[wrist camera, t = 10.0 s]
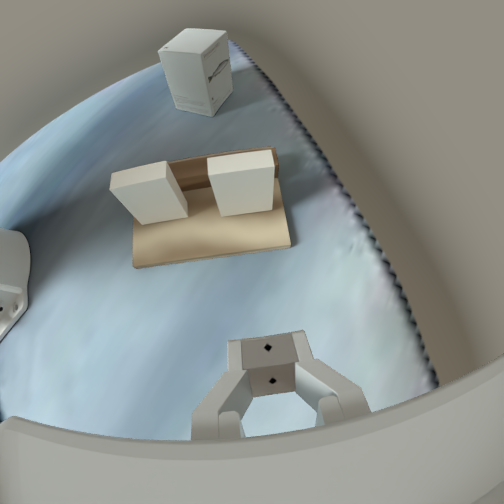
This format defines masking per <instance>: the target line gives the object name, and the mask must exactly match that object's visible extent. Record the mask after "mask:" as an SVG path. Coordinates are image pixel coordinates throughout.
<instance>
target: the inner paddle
mask: <svg viewBox="0 0 504 504" xmlns="http://www.w3.org/2000/svg"><path fill="white" fill-rule="evenodd" d="M110 191H111V192H112V193H113V194H114V195H115V196H116V197H117V199H118V200H119V201H120V202H121V203H122V204H123V205H124V206H125V207H126V208H127V209H128V211H129V212H130V213H131V214H132V215H133V216H134V217H135V218H136V219H137V220H138V221H139V222H140V223H141V224H142V225H145V224H150V223H156V222H162V221H168V220H174V219H180V218H186V217H188V206H187V201H186V199H185V197H184V195H183V193H182V191H181V189H180V187H179V185H178V183H177V181H176V179H175V177H174V175H173V173H172V171H171V169H170V167H169V165H168V163H167V161H161V162H156V163H152V164H147V165H143V166H138V167H134V168H130V169H126V170H122V171H118V172H114V173H112V174H111V182H110Z"/></svg>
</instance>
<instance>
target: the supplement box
mask: <svg viewBox="0 0 504 504" xmlns="http://www.w3.org/2000/svg"><path fill="white" fill-rule="evenodd" d="M158 54H159V57H160V60H161V63H162V66H163V70H164V73H165V76H166V79H167V82H168V85H169V88H170V91H171V94H172V97H173V101H174V104H175V107H176V109H179V110H183V111H188V112H192V113H196V114H201V115H205V116H209V117H213V116H214V115H215V113H216V112H217V110H218V109H219V108H220V106H221V105H222V104H223V102H224V101H225V100H226V99H227V97H228V96H229V95H230V94H231V93H232V92H233V84H232V74H231V65H230V56H229V48H228V39H227V31H221V30H210V29H190V28H186V29H185V30H183V31H182V32H181V33H180V34H178V35H177V36H176V37H174V38H173V39H172V40H171V41H170V42H168V43H167V44H166V45H165V46H164V47H162V48H161V49H160V50H159V51H158Z"/></svg>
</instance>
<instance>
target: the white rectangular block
mask: <svg viewBox="0 0 504 504" xmlns="http://www.w3.org/2000/svg"><path fill="white" fill-rule="evenodd" d="M207 164H208V176H209V180H210V183H211V186H212V189H213V192H214V195H215V199H216V202H217V205H218V208H219V211H220V214H221V217H225V216H232V215H239V214H246V213H254V212H261V211H269V210H272V204H273V187H274V170H275V166H274V161H273V156H272V152H271V150H262V151H254V152H246V153H238V154H231V155H224V156H217V157H211V158H207Z"/></svg>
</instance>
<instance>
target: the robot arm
mask: <svg viewBox="0 0 504 504" xmlns="http://www.w3.org/2000/svg"><path fill="white" fill-rule="evenodd" d="M29 272H30V249H29V245H28V242H27V239H26V238H25V236H24V235H23V234H22V233H21V232H19V231H13V230H7V229H3V228H0V341H1V340H2V338H3V337H4V336H5V335H6V333H7V332H8V331H9V330H10V328H11V327H12V326H13V325H14V324H15V322H16V321H17V320H18V319H19V318H20V317H21V315H22V314H23V313H24V312H25V311H26V309H27V306H28V296H27V283H28V278H29ZM227 349H228V372H224V373H223V375H222V376H221V377H220V378H219V380H218V381H217V382H216V384H215V385H214V386H213V387H212V389H211V390H210V391H209V393H208V394H207V395H206V396H205V398H204V399H203V400H202V401H201V403H200V404H199V405H198V406H197V408H196V409H195V410H194V411H193V413H192V429H191V440H190V441H177V440H148V439H133V438H122V437H113V436H105V435H98V434H91V433H85V432H79V431H74V430H69V429H64V428H59V427H55V426H50V425H46V424H42V423H38V422H35V421H31V420H28V419H24V418H21V417H17V416H12V417H9V418H8V419H6V420H5V421H3V422H2V423H1V424H0V504H504V354H502V355H501V356H499V357H497V358H496V359H494V360H492V361H491V362H489V363H487V364H485V365H483V366H482V367H480V368H478V369H476V370H474V371H472V372H470V373H468V374H466V375H464V376H462V377H460V378H458V379H456V380H454V381H452V382H450V383H448V384H446V385H444V386H441V387H439V388H437V389H434V390H432V391H430V392H427V393H425V394H422V395H420V396H417V397H415V398H412V399H409V400H407V401H404V402H401V403H399V404H396V405H393V406H390V407H387V408H384V409H381V410H378V411H375V412H371V411H370V408H369V406H368V403H367V401H366V398H365V396H364V394H363V391H362V389H361V387H359V386H358V385H356V384H355V383H353V382H352V381H350V380H349V379H347V378H346V377H344V376H343V375H341V374H340V373H338V372H337V371H335V370H334V369H332V368H331V367H329V366H328V365H326V364H325V363H323V362H322V361H320V360H319V359H314V358H313V355H312V352H311V349H310V346H309V343H308V340H307V337H306V334H305V331H304V330H300V331H294V332H291V333H290V332H289V333H283V334H277V335H270V336H264V337H256V338H246V339H239V340H228V343H227ZM293 391H295V392H296V393H297V394H298V395H299V396H300V397H301V398H302V399H303V400H304V401H305V402H306V403H307V404H309V405H310V406H311V407H312V408H313V409H314V410H315V411H316V412H317V417H316V424H315V427H312V428H307V429H302V430H296V431H291V432H284V433H278V434H271V435H263V436H255V437H246V436H245V433H244V430H243V426H242V423H241V419H242V418H243V416H244V414H245V412H246V410H247V409H248V407H249V405H250V403H251V401H252V399H253V397H259V396H266V395H272V394H279V393H287V392H293Z"/></svg>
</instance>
